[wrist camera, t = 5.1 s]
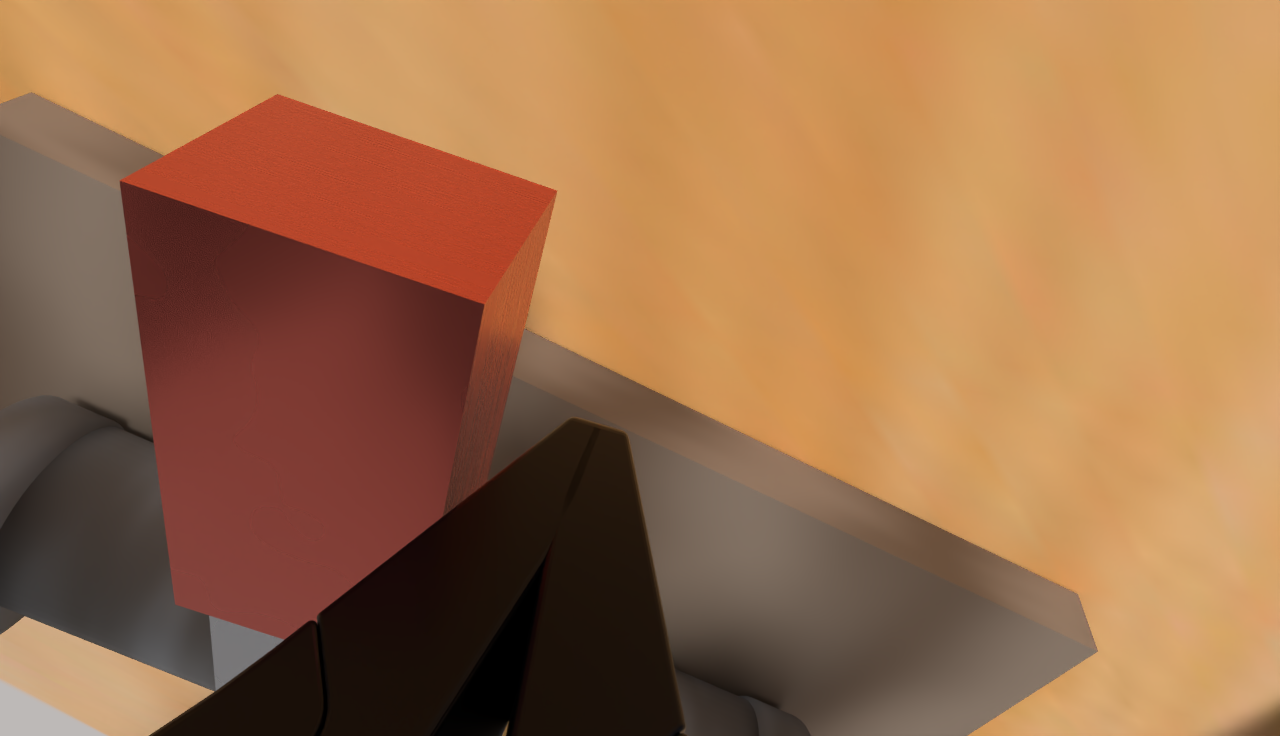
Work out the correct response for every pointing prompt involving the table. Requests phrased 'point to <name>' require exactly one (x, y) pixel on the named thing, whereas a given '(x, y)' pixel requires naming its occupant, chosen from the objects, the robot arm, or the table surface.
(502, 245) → the lever
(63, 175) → the valve mount
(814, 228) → the table surface
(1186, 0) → the table surface
